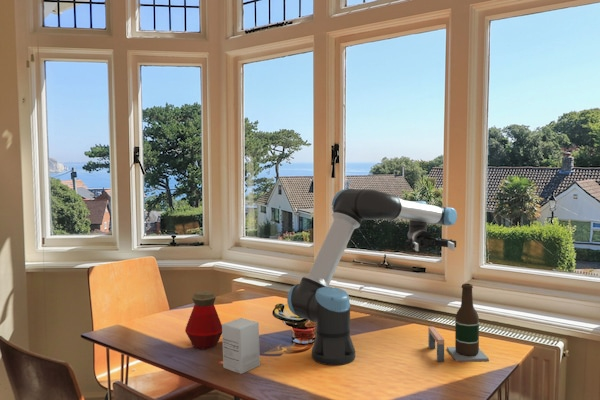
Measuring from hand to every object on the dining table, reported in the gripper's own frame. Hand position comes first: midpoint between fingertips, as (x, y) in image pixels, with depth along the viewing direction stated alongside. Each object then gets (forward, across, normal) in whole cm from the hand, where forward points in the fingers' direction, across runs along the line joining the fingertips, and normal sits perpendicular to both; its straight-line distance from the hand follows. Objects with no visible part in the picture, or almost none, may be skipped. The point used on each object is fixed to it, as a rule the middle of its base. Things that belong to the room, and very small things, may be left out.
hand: (435, 247), depth 187 cm
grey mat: (+18, -6, -35) cm, 40 cm away
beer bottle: (+18, -6, -34) cm, 39 cm away
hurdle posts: (+17, +4, -35) cm, 39 cm away
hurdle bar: (+17, +4, -29) cm, 34 cm away
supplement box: (+27, +71, -35) cm, 84 cm away
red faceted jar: (+6, +88, -35) cm, 95 cm away
